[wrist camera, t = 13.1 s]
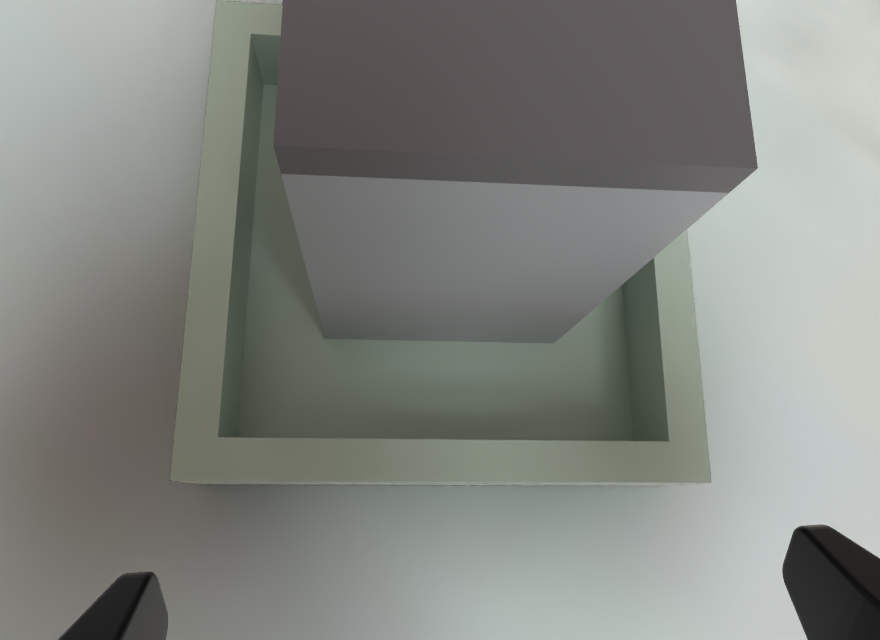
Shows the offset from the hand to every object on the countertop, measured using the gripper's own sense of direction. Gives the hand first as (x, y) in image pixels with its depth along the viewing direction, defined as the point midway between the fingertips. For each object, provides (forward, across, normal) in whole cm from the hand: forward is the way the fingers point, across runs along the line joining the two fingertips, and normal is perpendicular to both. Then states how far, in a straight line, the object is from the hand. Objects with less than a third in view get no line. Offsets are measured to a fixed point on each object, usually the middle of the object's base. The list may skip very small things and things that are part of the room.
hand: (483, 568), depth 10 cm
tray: (+12, 0, +1) cm, 13 cm away
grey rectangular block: (+12, 0, 0) cm, 12 cm away
